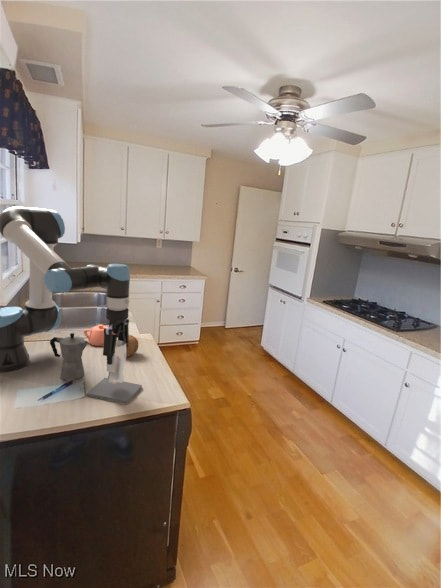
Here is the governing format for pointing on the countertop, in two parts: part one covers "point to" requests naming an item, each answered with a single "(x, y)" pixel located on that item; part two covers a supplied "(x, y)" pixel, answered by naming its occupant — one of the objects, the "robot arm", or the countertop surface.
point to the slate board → (114, 391)
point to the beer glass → (118, 363)
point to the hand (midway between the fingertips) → (116, 367)
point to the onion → (132, 346)
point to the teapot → (96, 335)
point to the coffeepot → (70, 356)
